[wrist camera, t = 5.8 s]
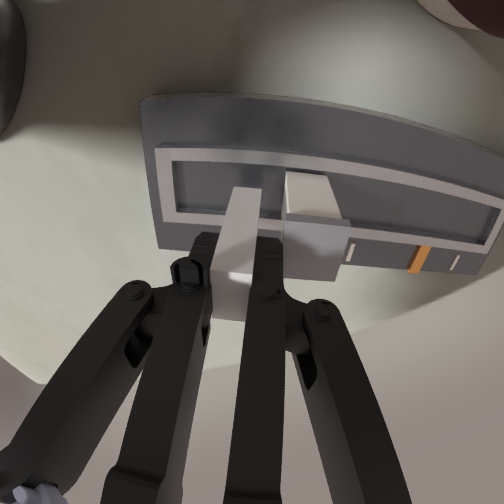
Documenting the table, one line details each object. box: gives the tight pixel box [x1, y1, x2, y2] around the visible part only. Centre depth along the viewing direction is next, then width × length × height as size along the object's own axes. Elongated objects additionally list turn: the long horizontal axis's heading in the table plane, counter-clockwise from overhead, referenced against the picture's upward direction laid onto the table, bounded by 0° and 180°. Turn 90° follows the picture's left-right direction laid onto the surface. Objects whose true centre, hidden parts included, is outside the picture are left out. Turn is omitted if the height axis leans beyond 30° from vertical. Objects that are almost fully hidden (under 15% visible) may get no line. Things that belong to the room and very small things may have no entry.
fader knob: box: [281, 171, 352, 282], centre depth 15 cm, size 3×3×6 cm
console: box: [140, 93, 504, 275], centre depth 17 cm, size 28×11×3 cm, turn 87°
